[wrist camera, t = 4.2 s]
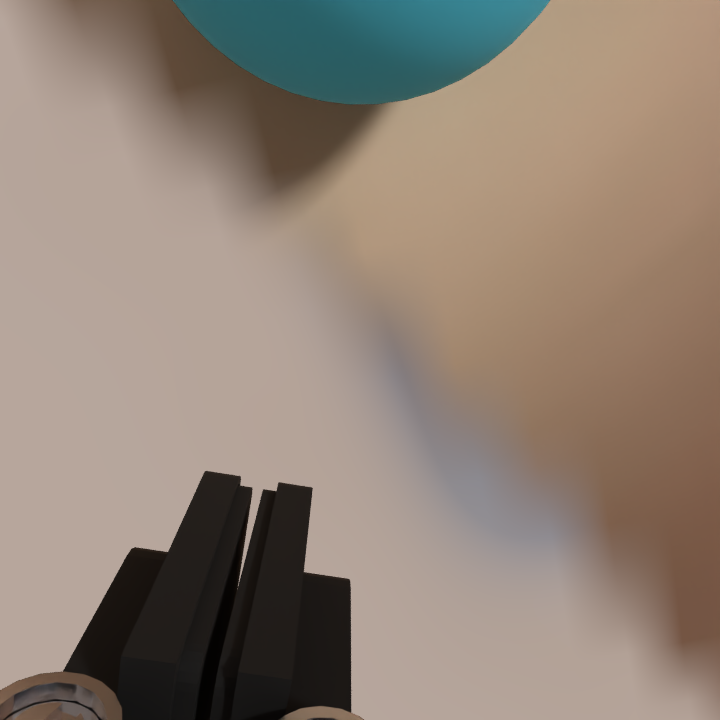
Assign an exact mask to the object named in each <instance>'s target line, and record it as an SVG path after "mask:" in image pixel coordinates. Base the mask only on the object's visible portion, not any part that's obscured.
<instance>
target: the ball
mask: <svg viewBox="0 0 720 720" xmlns="http://www.w3.org/2000/svg"><path fill="white" fill-rule="evenodd" d="M549 1H550V0H173V2H174V3H175V4H176V5H177V7H178V8H179V9H180V11H181V12H182V13H183V14H184V16H185V17H186V18H187V19H188V21H189V22H190V23H191V24H192V25H193V26H194V27H195V28H196V29H197V30H198V31H199V32H200V33H201V34H202V35H203V36H204V37H205V38H206V39H207V40H208V41H209V42H210V43H211V44H212V45H213V46H214V47H215V48H216V49H218V50H219V51H220V52H221V53H223V54H224V55H225V56H227V57H228V58H229V59H230V60H232V61H233V62H234V63H235V64H237V65H238V66H240V67H241V68H243V69H245V70H246V71H248V72H250V73H252V74H253V75H255V76H257V77H258V78H260V79H262V80H263V81H265V82H268V83H270V84H272V85H275V86H277V87H279V88H282V89H284V90H286V91H289V92H291V93H294V94H298V95H301V96H305V97H309V98H312V99H316V100H320V101H327V102H334V103H342V104H382V103H388V102H395V101H402V100H407V99H411V98H414V97H418V96H421V95H424V94H428V93H431V92H435V91H437V90H439V89H441V88H443V87H446V86H448V85H450V84H452V83H455V82H457V81H459V80H461V79H463V78H465V77H466V76H468V75H469V74H471V73H473V72H474V71H476V70H477V69H479V68H481V67H482V66H484V65H486V64H487V63H489V62H490V61H491V60H492V59H493V58H495V57H496V56H497V55H498V54H500V53H501V52H502V51H503V50H504V49H506V48H507V47H508V46H509V45H511V44H512V43H513V42H514V41H515V40H516V39H517V38H518V37H519V36H520V34H521V33H522V32H523V31H524V30H525V29H526V28H527V27H528V26H529V25H530V24H531V23H532V22H533V21H534V20H535V19H536V18H537V17H538V15H539V14H540V13H541V12H542V11H543V9H544V8H545V7H546V5H547V4H548V3H549Z"/></svg>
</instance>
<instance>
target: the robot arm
mask: <svg viewBox="0 0 720 720" xmlns="http://www.w3.org/2000/svg"><path fill="white" fill-rule="evenodd" d="M240 482H241V477H240V476H235V475H229V474H222V473H215V472H209V471H205V473H204V475H203V477H202V479H201V481H200V483H199V485H198V488H197V490H196V492H195V494H194V496H193V499H192V501H191V503H190V505H189V507H188V510H187V512H186V514H185V516H184V518H183V521H182V523H181V525H180V527H179V529H178V532H177V534H176V536H175V538H174V540H173V543H172V545H171V547H170V549H169V551H168V552H163V551H156V550H149V549H143V548H136V547H135V548H132V549H131V551H130V552H129V554H128V555H127V557H126V558H125V560H124V562H123V564H122V566H121V567H120V569H119V571H118V573H117V575H116V576H115V578H114V580H113V582H112V584H111V585H110V587H109V589H108V591H107V593H106V595H105V597H104V598H103V600H102V602H101V604H100V606H99V607H98V609H97V611H96V613H95V614H94V616H93V618H92V620H91V622H90V623H89V625H88V627H87V629H86V631H85V632H84V634H83V636H82V638H81V640H80V642H79V643H78V645H77V647H76V649H75V651H74V652H73V654H72V656H71V658H70V660H69V662H68V663H67V665H66V667H65V669H64V670H63V672H54V673H43V674H38V675H35V676H32V677H28V678H25V679H22V680H19V681H16V682H15V683H13V684H11V685H9V686H7V687H5V688H4V689H2V690H0V720H364V719H362V718H361V717H360V716H357V715H355V714H352V713H351V600H350V599H351V592H350V591H351V587H350V580H349V579H345V578H339V577H332V576H325V575H319V574H312V573H305V572H304V563H305V554H306V544H307V535H308V526H309V517H310V508H311V498H312V489H313V488H311V487H305V486H298V485H292V484H285V483H278V487H277V491H271V490H263V492H262V496H261V500H260V504H259V508H258V512H257V516H256V520H255V524H254V528H253V532H252V535H251V539H250V543H249V547H248V551H247V555H246V559H245V563H244V567H243V571H242V575H241V578H240V582H239V576H240V569H241V563H242V556H243V549H244V542H245V536H246V530H247V523H248V517H249V510H250V504H251V497H252V488H251V487H245V486H240ZM238 583H239V586H238ZM237 589H238V590H237Z"/></svg>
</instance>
